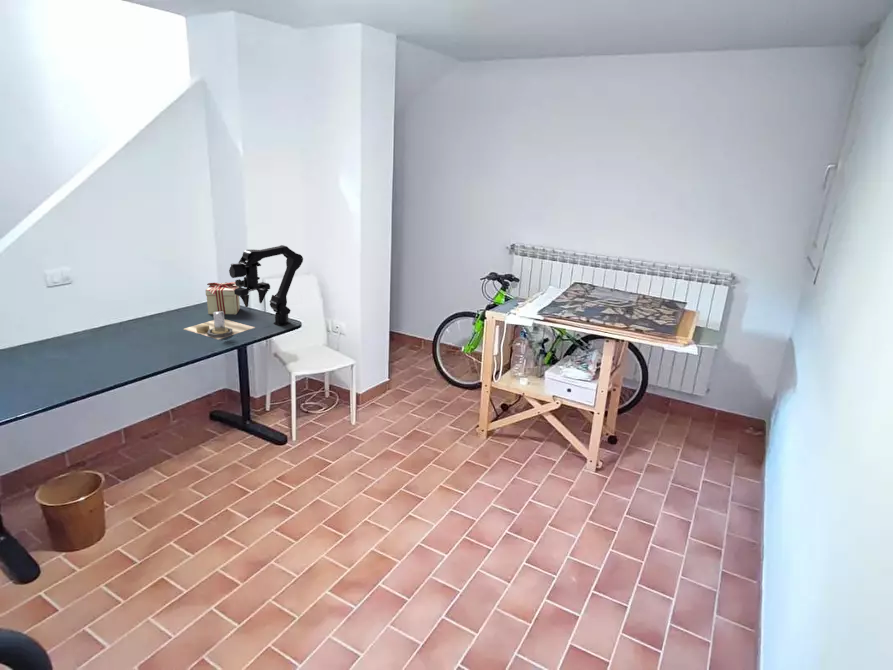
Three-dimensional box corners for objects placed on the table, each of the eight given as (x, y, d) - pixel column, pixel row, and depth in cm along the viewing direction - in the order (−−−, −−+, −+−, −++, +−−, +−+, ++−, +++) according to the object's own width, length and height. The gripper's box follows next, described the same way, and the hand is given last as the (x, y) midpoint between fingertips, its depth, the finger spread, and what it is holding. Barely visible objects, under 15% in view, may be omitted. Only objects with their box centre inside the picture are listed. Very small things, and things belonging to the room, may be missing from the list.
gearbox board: (220, 319, 300) (220, 313, 299) (255, 329, 288) (254, 322, 287) (183, 330, 281) (182, 324, 279) (218, 341, 269) (218, 334, 268)
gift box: (206, 318, 301) (203, 287, 295) (211, 308, 318) (208, 279, 312) (240, 317, 305) (237, 287, 300) (243, 307, 322) (240, 278, 316)
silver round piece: (216, 330, 280) (214, 309, 277) (231, 331, 280) (229, 311, 276) (209, 335, 273) (207, 314, 270) (224, 336, 273) (222, 315, 269)
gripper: (254, 269, 290) (256, 298, 295) (225, 276, 275) (227, 306, 280) (270, 273, 285) (271, 302, 290) (241, 279, 270) (243, 310, 275)
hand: (253, 305), depth 284 cm, fingers open, 9 cm apart
